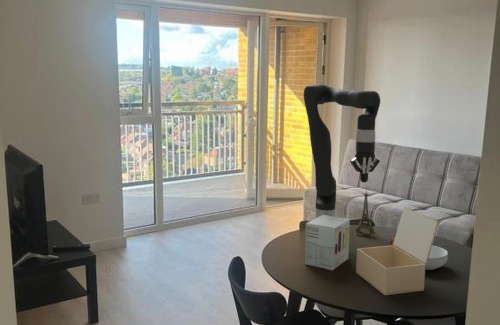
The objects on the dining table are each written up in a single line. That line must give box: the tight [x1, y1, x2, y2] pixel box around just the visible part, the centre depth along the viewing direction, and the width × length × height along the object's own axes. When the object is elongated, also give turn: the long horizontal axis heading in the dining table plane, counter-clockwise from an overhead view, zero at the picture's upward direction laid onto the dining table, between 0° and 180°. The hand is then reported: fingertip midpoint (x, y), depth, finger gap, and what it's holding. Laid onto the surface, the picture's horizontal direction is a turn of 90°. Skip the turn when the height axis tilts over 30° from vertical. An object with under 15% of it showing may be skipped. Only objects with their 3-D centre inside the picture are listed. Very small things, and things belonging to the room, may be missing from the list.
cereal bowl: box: [405, 244, 449, 271], centre depth 198 cm, size 17×17×7 cm
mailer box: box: [355, 245, 426, 296], centre depth 183 cm, size 16×22×10 cm
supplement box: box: [304, 215, 351, 271], centre depth 203 cm, size 17×13×18 cm
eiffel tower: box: [353, 186, 376, 238], centre depth 242 cm, size 11×11×25 cm
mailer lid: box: [393, 206, 440, 264], centre depth 183 cm, size 16×22×1 cm
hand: (364, 182), depth 197 cm, fingers closed
